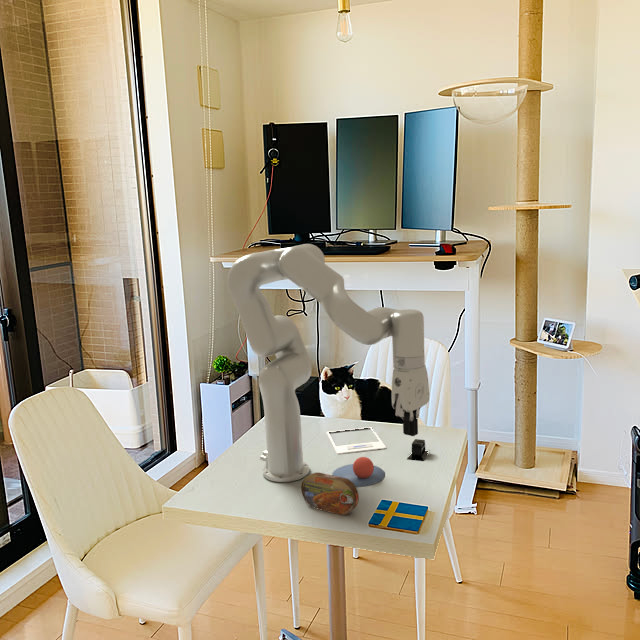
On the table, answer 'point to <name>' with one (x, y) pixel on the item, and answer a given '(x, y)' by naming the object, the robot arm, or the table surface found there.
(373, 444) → the photo frame
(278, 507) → the table surface
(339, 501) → the tin
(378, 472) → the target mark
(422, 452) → the black block
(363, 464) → the ball
